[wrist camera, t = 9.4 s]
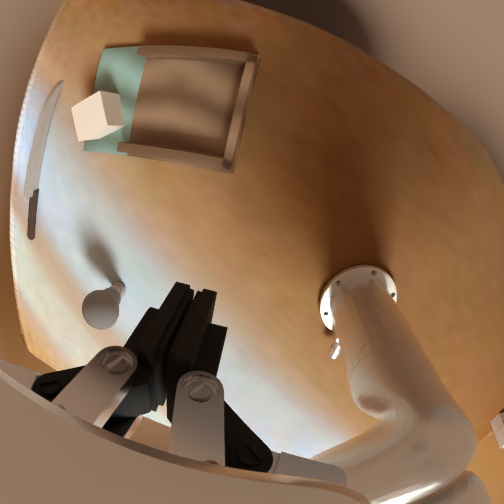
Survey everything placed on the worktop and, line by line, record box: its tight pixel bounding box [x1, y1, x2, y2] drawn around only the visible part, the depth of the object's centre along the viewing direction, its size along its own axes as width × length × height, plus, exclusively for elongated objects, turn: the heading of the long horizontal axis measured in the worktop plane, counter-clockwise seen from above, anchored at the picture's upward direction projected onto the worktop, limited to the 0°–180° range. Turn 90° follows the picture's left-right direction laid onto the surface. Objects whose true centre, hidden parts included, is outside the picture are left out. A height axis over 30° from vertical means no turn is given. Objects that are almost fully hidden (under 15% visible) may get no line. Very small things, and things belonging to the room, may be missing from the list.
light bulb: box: [82, 282, 125, 329], centre depth 39 cm, size 6×6×10 cm
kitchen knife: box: [24, 80, 64, 240], centre depth 34 cm, size 4×1×30 cm
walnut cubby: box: [84, 45, 260, 174], centre depth 30 cm, size 16×23×4 cm
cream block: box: [72, 91, 127, 141], centre depth 30 cm, size 5×5×5 cm
